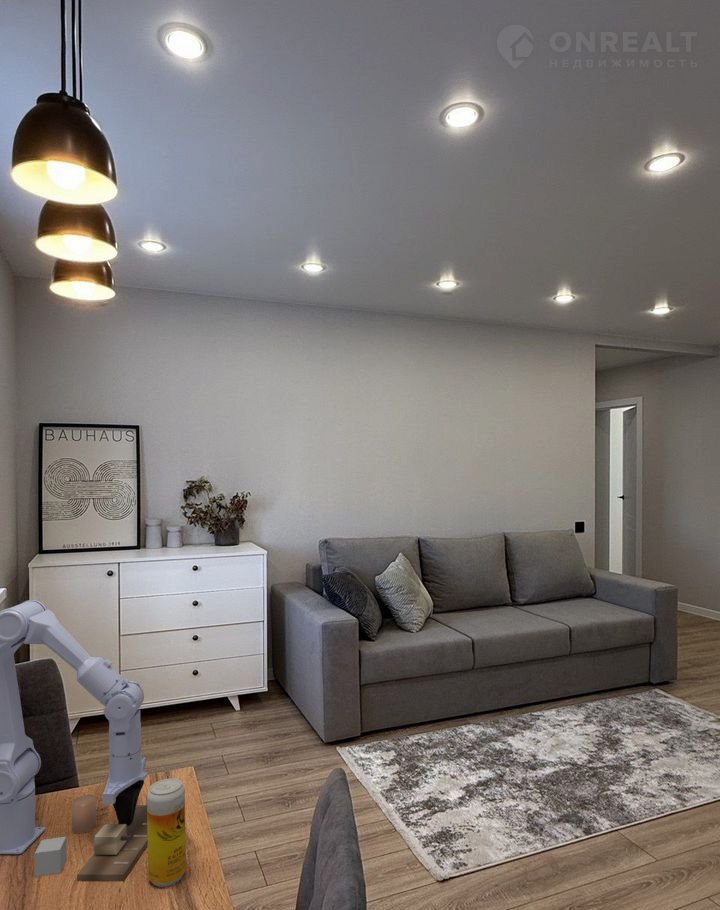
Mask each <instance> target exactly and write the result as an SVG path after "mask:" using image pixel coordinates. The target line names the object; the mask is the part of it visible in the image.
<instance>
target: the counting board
mask: <svg viewBox="0 0 720 910" xmlns="http://www.w3.org/2000/svg"><path fill="white" fill-rule="evenodd" d="M117 824H119V822H117ZM126 835H132V839H131V840H130V841H126V843H125V844H124V845H123V847H122V848H121V849H120V851H119V852H118V853H117V855H94V853H93V854H92V855H91V856H90V857H89V859H88V860H87V862H86V863H85V864H84V866H83V867H82V868H81V869H80V871H78V873H77V874H76V878H77V879H76V881H79V882H80V881H81V882H88V881H89V882H91V881H94V882H101V881H103V882H107V881H109V882H113V881H114V882H118V881H119V882H124V881H125V880H126V879H127V877H128V875H129V873H130V872H131V871H132V869H133V868H134V866H135V865H136V864H137V861H138V860H139V859H140V858H141V855H142V854H143V853H144V852H145V850H146V848H148V831H147V805H146V804H141V805H140V804H138V805H137V804H136V809H135V814H134V819H133V822H132V823H131V825H130V826H126Z"/></svg>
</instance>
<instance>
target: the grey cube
mask: <svg viewBox="0 0 720 910" xmlns="http://www.w3.org/2000/svg"><path fill="white" fill-rule="evenodd" d="M66 861H67V836H62V837H53V838H46V839H41V840H40V842H39V844H38V846H37V848H36V850H35V852H34V877H35V878H36V877H43V876H44V877H45V876H51V875H56V874H61V872H62V871H63V868H64V866H65V863H66Z"/></svg>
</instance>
